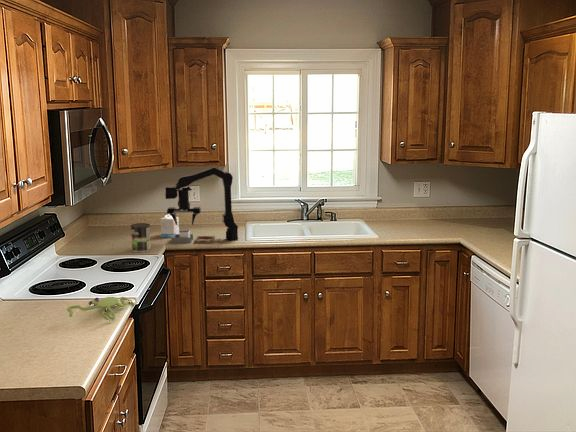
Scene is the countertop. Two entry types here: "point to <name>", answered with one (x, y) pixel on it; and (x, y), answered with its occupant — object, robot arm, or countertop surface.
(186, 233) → the grey-fronted drawer box
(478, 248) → the countertop surface
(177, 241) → the grey drawer cabinet
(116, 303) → the figurine
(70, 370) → the countertop surface
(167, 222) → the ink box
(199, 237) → the walnut tray
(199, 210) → the robot arm
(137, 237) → the coffee can
